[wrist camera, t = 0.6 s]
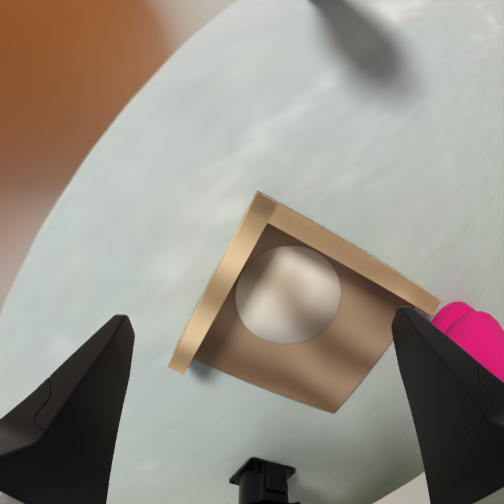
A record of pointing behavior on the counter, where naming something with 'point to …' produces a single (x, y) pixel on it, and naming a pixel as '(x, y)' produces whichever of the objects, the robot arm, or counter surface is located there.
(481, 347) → the pepper mill
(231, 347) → the brown flat rimmed piece
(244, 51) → the counter surface
